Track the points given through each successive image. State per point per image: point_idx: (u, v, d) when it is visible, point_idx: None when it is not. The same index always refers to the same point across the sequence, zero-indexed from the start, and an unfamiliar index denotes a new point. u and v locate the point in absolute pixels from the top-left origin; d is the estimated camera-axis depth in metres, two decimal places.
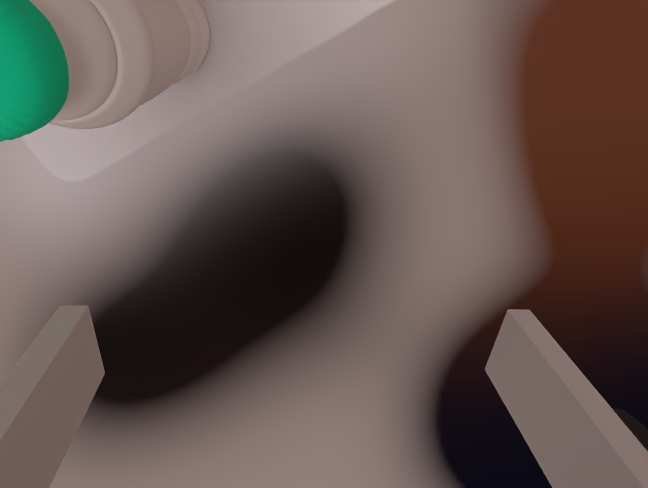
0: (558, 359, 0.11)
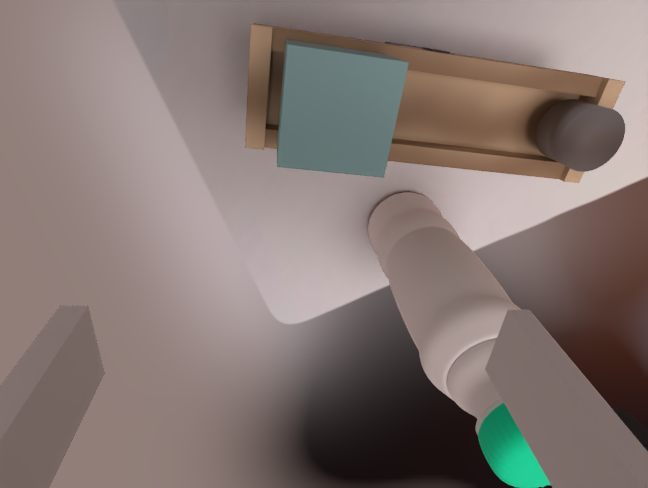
0: (558, 359, 0.11)
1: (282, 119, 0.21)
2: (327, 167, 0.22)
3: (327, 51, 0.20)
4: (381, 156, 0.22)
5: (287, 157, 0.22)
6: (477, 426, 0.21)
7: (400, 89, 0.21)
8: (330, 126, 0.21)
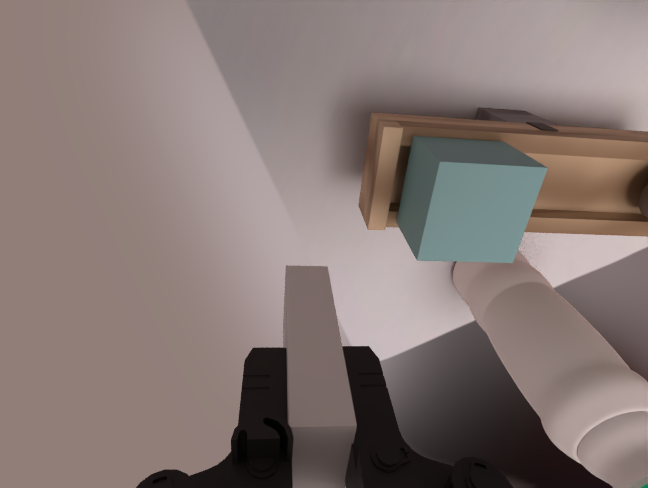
0: (322, 304, 0.13)
1: (427, 222, 0.23)
2: (462, 258, 0.24)
3: (475, 164, 0.21)
4: (512, 246, 0.24)
5: (427, 252, 0.24)
6: None
7: (537, 190, 0.22)
8: (470, 224, 0.23)
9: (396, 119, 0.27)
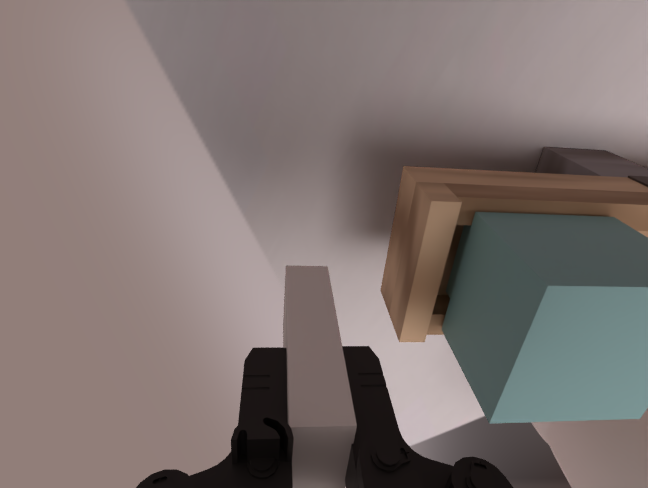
0: (322, 304, 0.13)
1: (512, 372, 0.13)
2: (562, 417, 0.15)
3: (608, 288, 0.12)
4: (645, 397, 0.15)
5: (507, 412, 0.14)
6: None
7: None
8: (582, 372, 0.14)
9: (444, 180, 0.17)
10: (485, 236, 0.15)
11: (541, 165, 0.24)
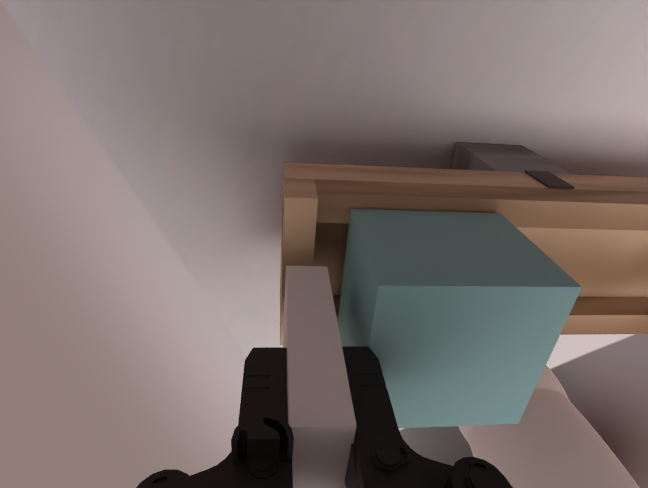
0: (322, 304, 0.13)
1: None
2: (432, 422, 0.14)
3: (446, 287, 0.11)
4: (518, 401, 0.14)
5: None
6: None
7: (561, 322, 0.12)
8: (442, 376, 0.13)
9: (316, 176, 0.17)
10: (354, 234, 0.15)
11: (454, 161, 0.24)
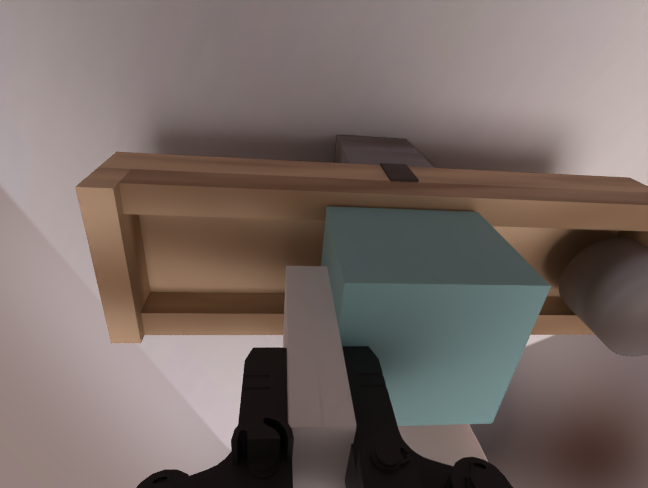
0: (322, 304, 0.13)
1: None
2: (405, 421, 0.14)
3: (413, 285, 0.11)
4: (491, 401, 0.14)
5: None
6: None
7: (532, 321, 0.12)
8: (413, 374, 0.13)
9: (137, 166, 0.16)
10: (328, 231, 0.14)
11: (335, 154, 0.23)
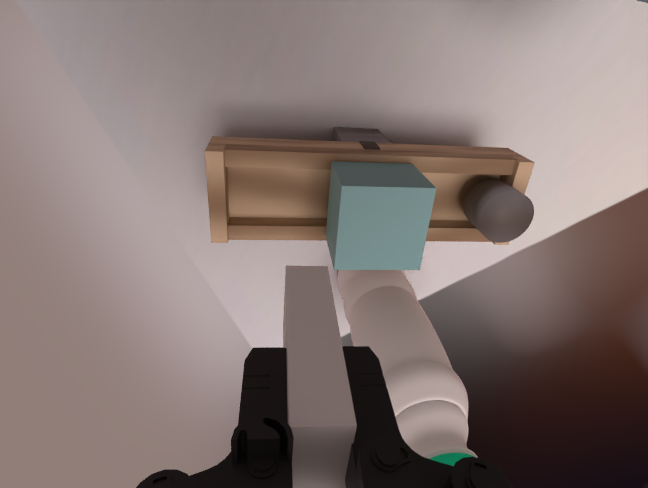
0: (322, 304, 0.13)
1: (338, 236, 0.26)
2: (374, 266, 0.28)
3: (372, 187, 0.25)
4: (417, 255, 0.28)
5: (342, 262, 0.27)
6: None
7: (430, 207, 0.26)
8: (376, 237, 0.27)
9: (228, 142, 0.30)
10: (333, 172, 0.28)
11: (333, 139, 0.37)
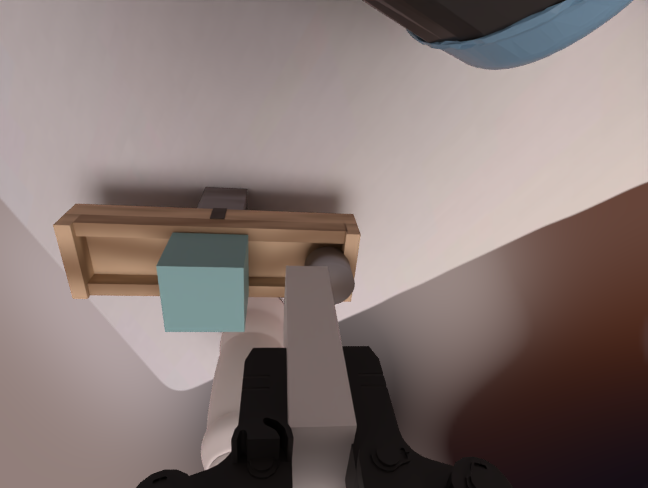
0: (322, 304, 0.13)
1: (162, 305, 0.30)
2: (201, 329, 0.32)
3: (184, 267, 0.29)
4: (239, 320, 0.31)
5: (171, 326, 0.31)
6: None
7: (241, 282, 0.30)
8: (197, 306, 0.30)
9: (84, 212, 0.33)
10: None
11: None
